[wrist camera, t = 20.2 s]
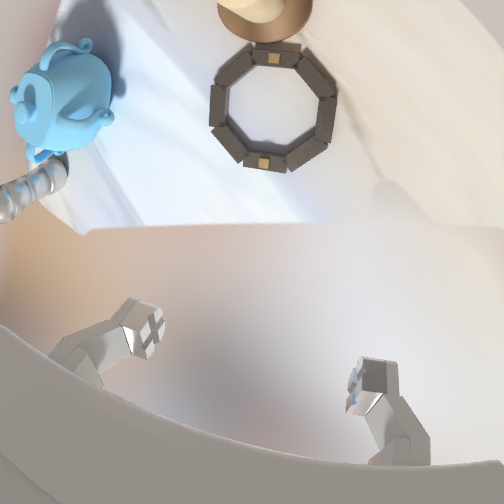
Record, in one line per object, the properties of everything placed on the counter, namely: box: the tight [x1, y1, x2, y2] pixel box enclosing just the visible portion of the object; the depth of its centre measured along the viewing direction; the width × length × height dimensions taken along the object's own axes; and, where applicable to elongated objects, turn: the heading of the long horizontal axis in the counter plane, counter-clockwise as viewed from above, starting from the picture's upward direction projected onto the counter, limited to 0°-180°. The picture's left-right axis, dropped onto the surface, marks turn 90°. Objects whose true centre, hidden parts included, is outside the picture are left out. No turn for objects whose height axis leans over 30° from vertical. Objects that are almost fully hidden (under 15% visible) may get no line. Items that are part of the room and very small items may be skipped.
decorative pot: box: [9, 38, 114, 164], centre depth 32 cm, size 16×16×14 cm
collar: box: [209, 49, 337, 173], centre depth 33 cm, size 15×15×2 cm
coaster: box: [217, 0, 312, 43], centre depth 25 cm, size 11×11×1 cm
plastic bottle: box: [0, 159, 67, 224], centre depth 39 cm, size 6×7×20 cm
